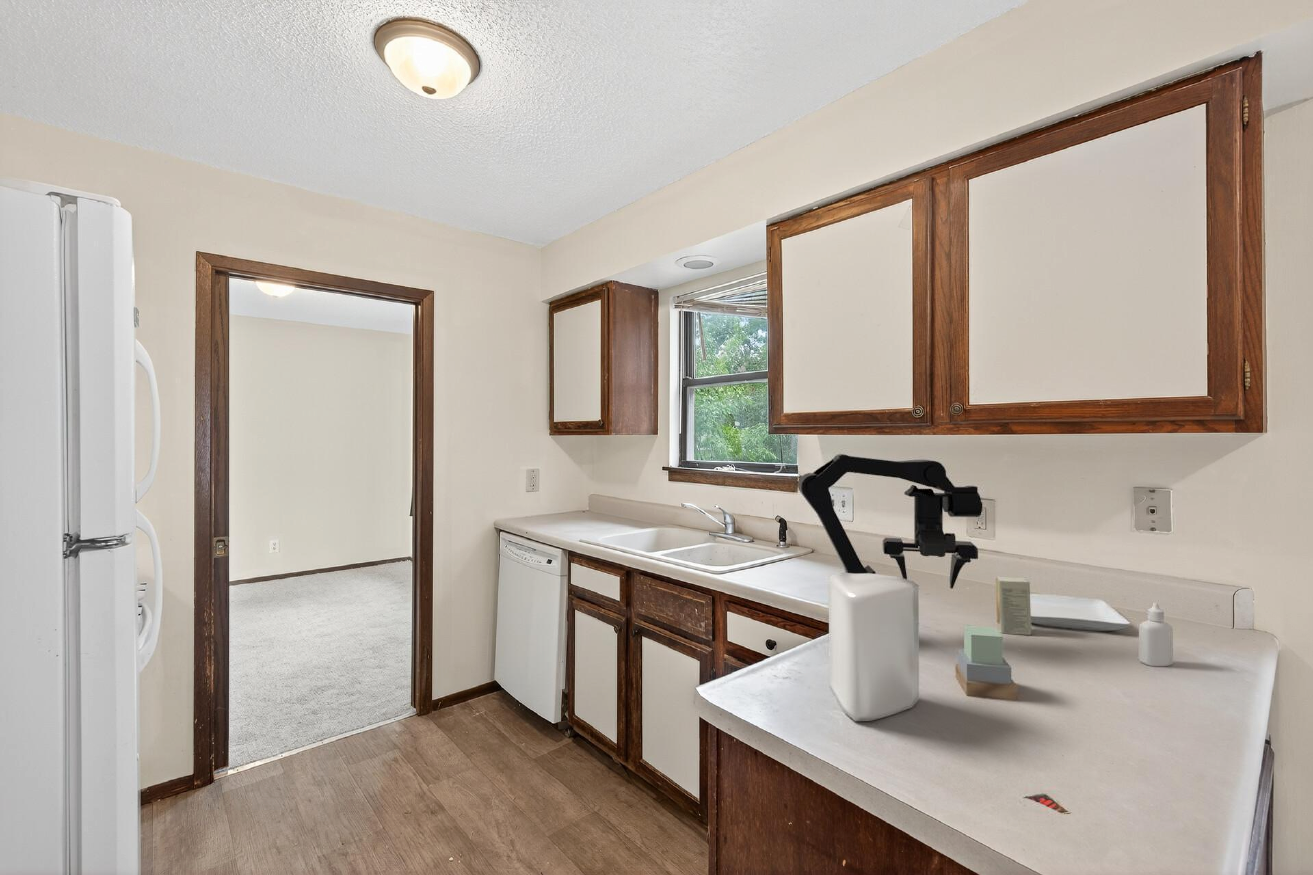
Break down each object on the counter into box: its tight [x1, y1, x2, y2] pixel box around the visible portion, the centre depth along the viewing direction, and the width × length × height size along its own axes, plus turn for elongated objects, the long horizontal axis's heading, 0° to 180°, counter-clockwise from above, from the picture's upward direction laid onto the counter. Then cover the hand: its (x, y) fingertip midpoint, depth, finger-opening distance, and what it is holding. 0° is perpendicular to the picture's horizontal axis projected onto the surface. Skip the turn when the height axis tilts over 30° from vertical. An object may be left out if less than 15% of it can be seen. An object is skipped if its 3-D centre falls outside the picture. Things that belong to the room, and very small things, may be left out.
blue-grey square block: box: [957, 649, 1012, 685], centre depth 106 cm, size 7×7×3 cm
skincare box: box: [995, 576, 1032, 636], centre depth 135 cm, size 6×4×12 cm
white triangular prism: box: [828, 572, 920, 722], centre depth 102 cm, size 15×14×22 cm
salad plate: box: [1030, 593, 1131, 632], centre depth 144 cm, size 21×21×3 cm
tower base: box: [955, 663, 1018, 701], centre depth 106 cm, size 8×8×3 cm
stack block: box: [963, 625, 1004, 665], centre depth 106 cm, size 5×5×5 cm
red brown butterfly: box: [1018, 792, 1071, 815], centre depth 73 cm, size 5×5×1 cm
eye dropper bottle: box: [1138, 602, 1174, 667], centre depth 116 cm, size 4×6×12 cm
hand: (928, 586), depth 130 cm, fingers open, 9 cm apart
